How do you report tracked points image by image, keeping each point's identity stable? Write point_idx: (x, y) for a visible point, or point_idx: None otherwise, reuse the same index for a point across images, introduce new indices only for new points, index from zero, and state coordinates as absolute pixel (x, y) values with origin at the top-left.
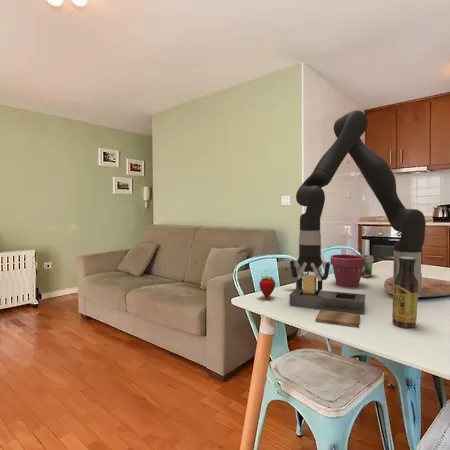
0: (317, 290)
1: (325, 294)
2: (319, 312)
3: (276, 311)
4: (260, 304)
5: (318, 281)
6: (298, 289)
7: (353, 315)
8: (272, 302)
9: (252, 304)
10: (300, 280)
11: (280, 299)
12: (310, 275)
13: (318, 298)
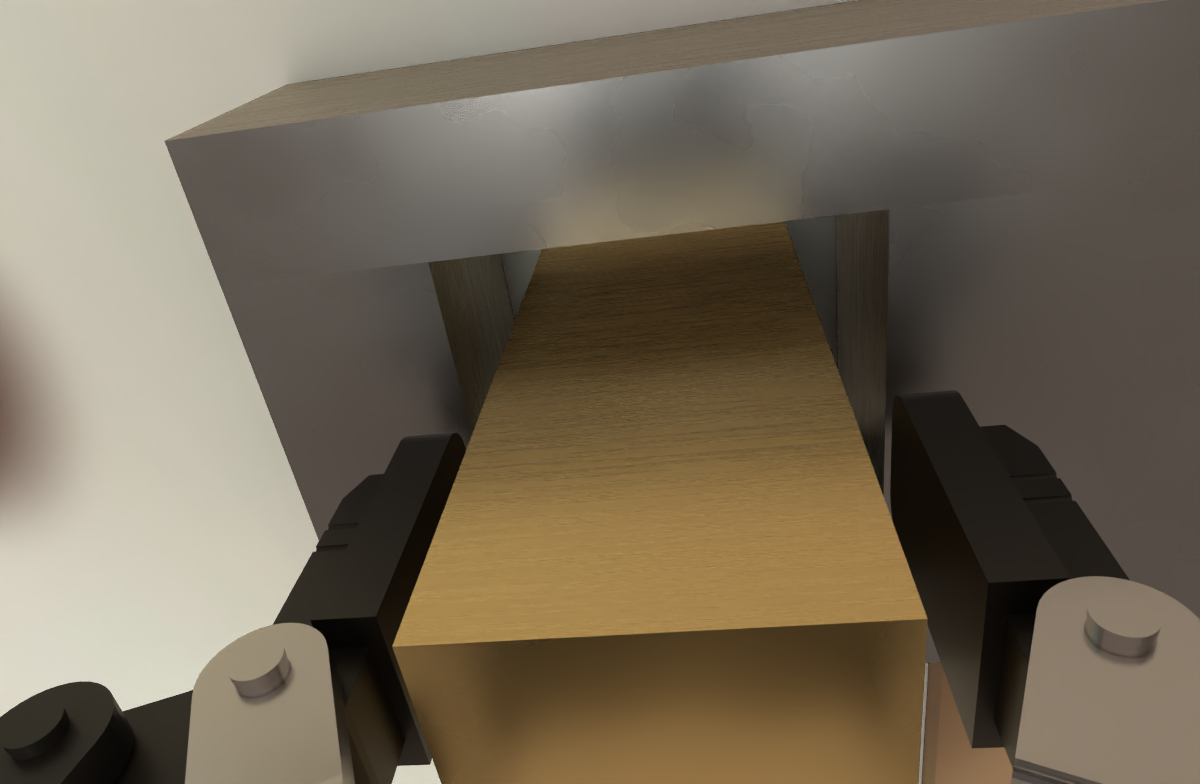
0: (804, 113)
1: (1065, 408)
2: (944, 757)
3: (408, 770)
4: (77, 644)
5: (1001, 734)
6: (310, 271)
7: None
8: (129, 509)
9: (6, 679)
10: (415, 745)
11: (105, 307)
12: (661, 696)
13: (926, 649)
